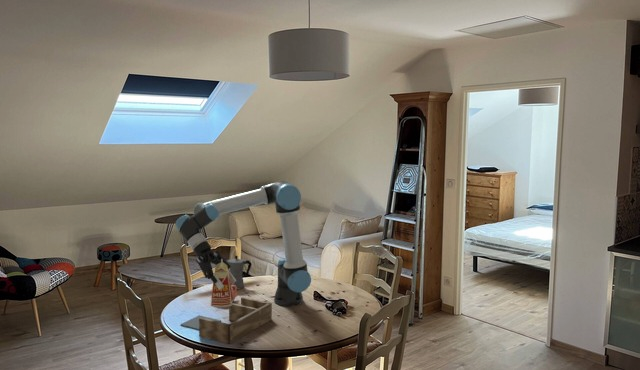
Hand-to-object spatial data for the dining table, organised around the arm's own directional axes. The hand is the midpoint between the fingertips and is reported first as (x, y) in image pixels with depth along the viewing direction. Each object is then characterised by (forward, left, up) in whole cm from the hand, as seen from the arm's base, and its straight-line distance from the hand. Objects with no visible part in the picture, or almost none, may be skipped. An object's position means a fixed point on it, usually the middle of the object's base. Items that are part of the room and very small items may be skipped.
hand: (228, 285), depth 233 cm
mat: (+13, -9, -21) cm, 26 cm away
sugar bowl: (+5, -38, -21) cm, 44 cm away
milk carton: (+3, -2, -9) cm, 10 cm away
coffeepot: (0, -63, -21) cm, 67 cm away
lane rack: (-4, -4, -21) cm, 22 cm away
